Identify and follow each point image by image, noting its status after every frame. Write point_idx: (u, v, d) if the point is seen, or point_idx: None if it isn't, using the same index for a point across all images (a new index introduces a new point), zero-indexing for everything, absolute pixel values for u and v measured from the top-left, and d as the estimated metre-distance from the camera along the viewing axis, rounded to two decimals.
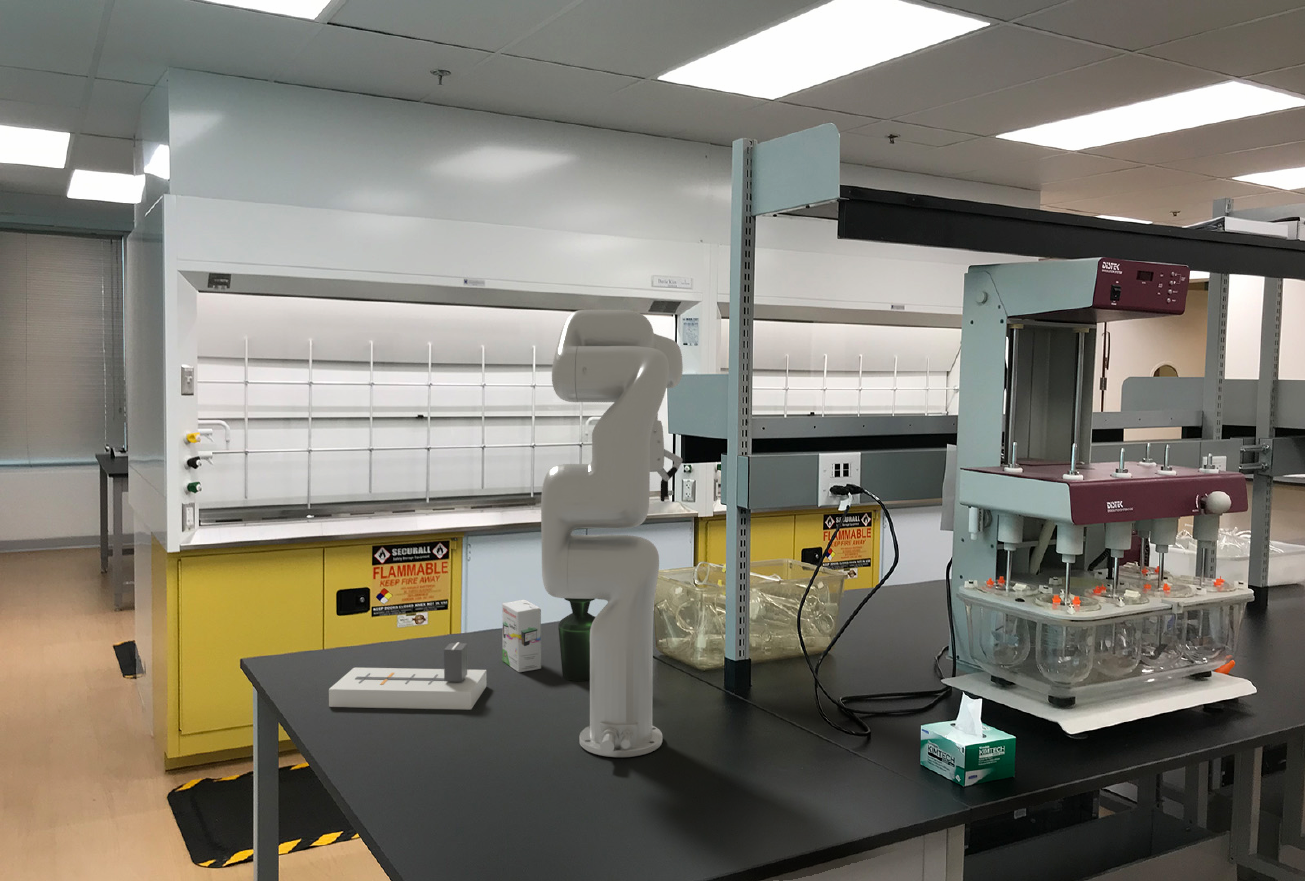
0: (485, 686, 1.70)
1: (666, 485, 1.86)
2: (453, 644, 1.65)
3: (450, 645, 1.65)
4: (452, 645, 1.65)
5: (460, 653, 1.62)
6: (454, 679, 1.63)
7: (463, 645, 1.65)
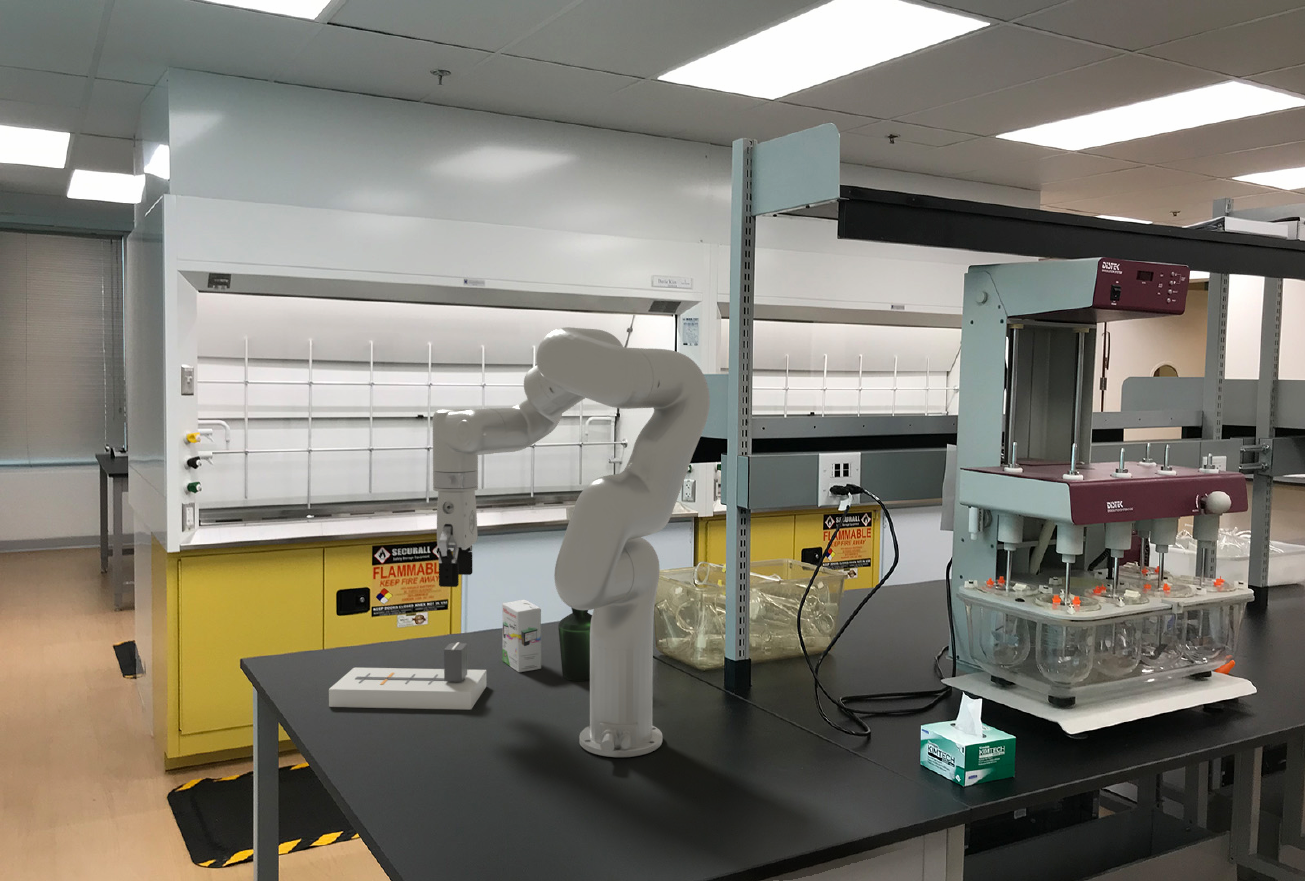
0: (485, 686, 1.70)
1: None
2: (453, 644, 1.65)
3: (450, 645, 1.65)
4: (452, 645, 1.65)
5: (460, 653, 1.62)
6: (454, 679, 1.63)
7: (463, 645, 1.65)
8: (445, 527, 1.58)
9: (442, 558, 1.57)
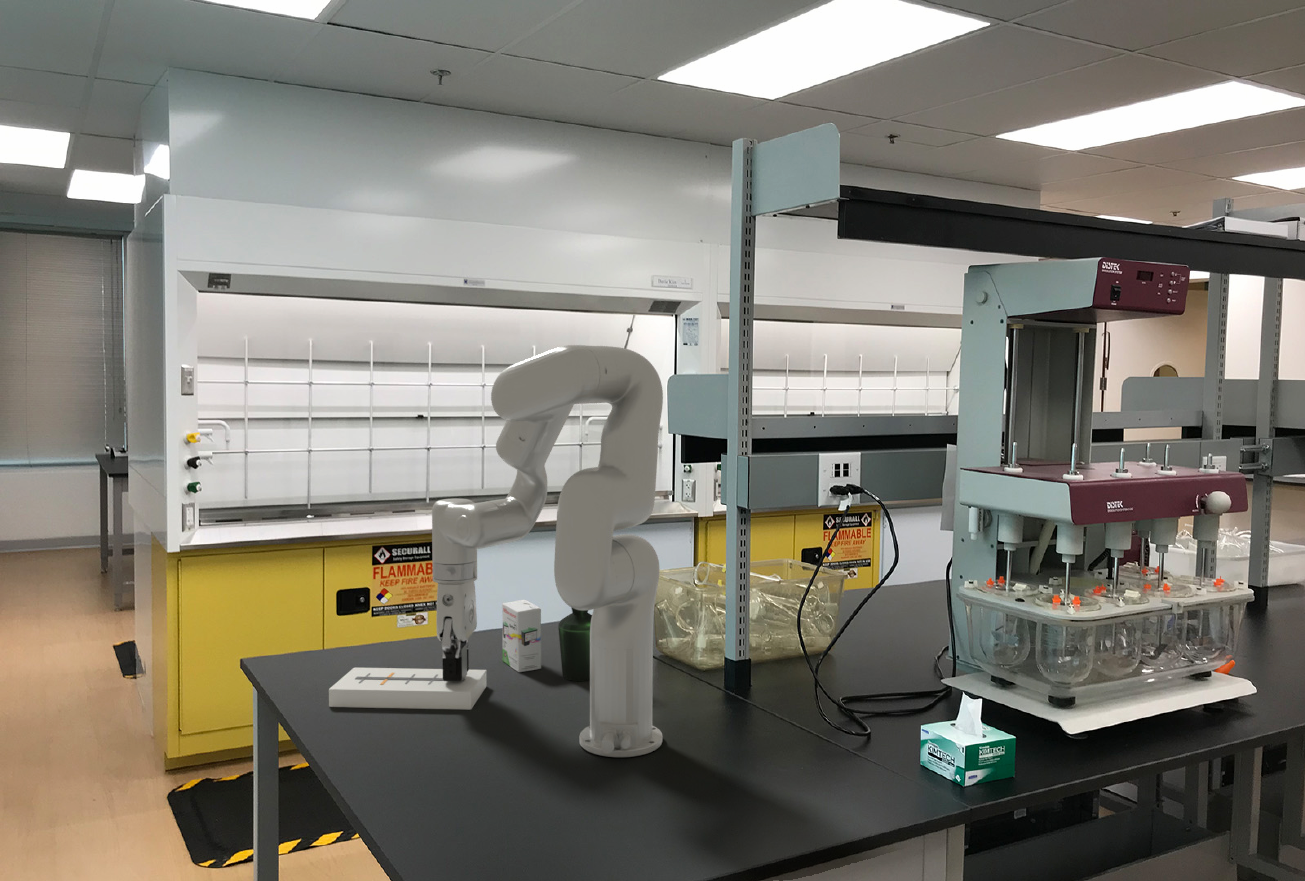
0: (485, 686, 1.70)
1: None
2: (453, 644, 1.65)
3: None
4: None
5: (460, 653, 1.62)
6: None
7: (463, 645, 1.65)
8: (445, 624, 1.59)
9: (446, 654, 1.60)
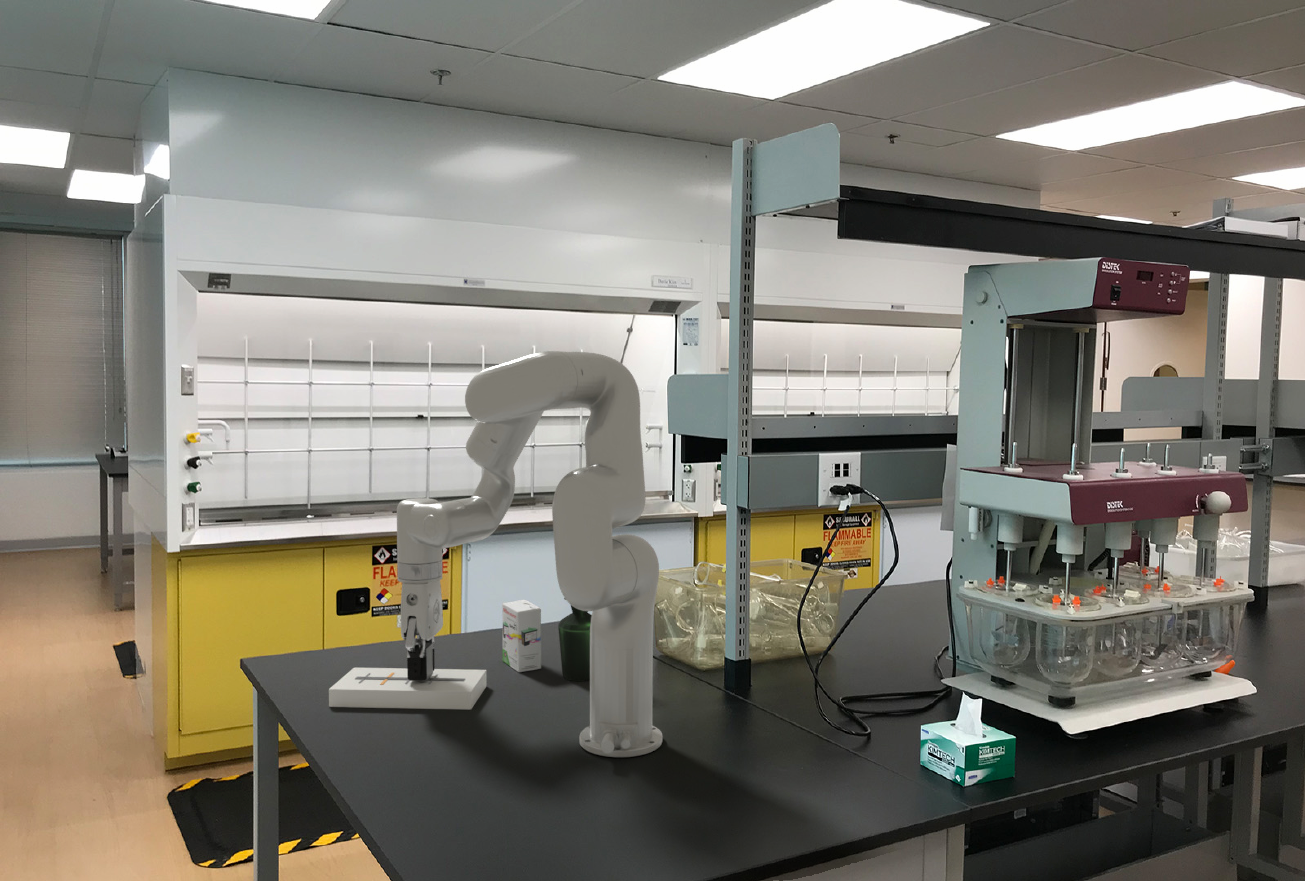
0: (485, 686, 1.70)
1: None
2: (419, 643, 1.66)
3: None
4: (417, 644, 1.65)
5: (425, 653, 1.62)
6: None
7: (428, 644, 1.65)
8: (409, 624, 1.59)
9: (410, 653, 1.60)
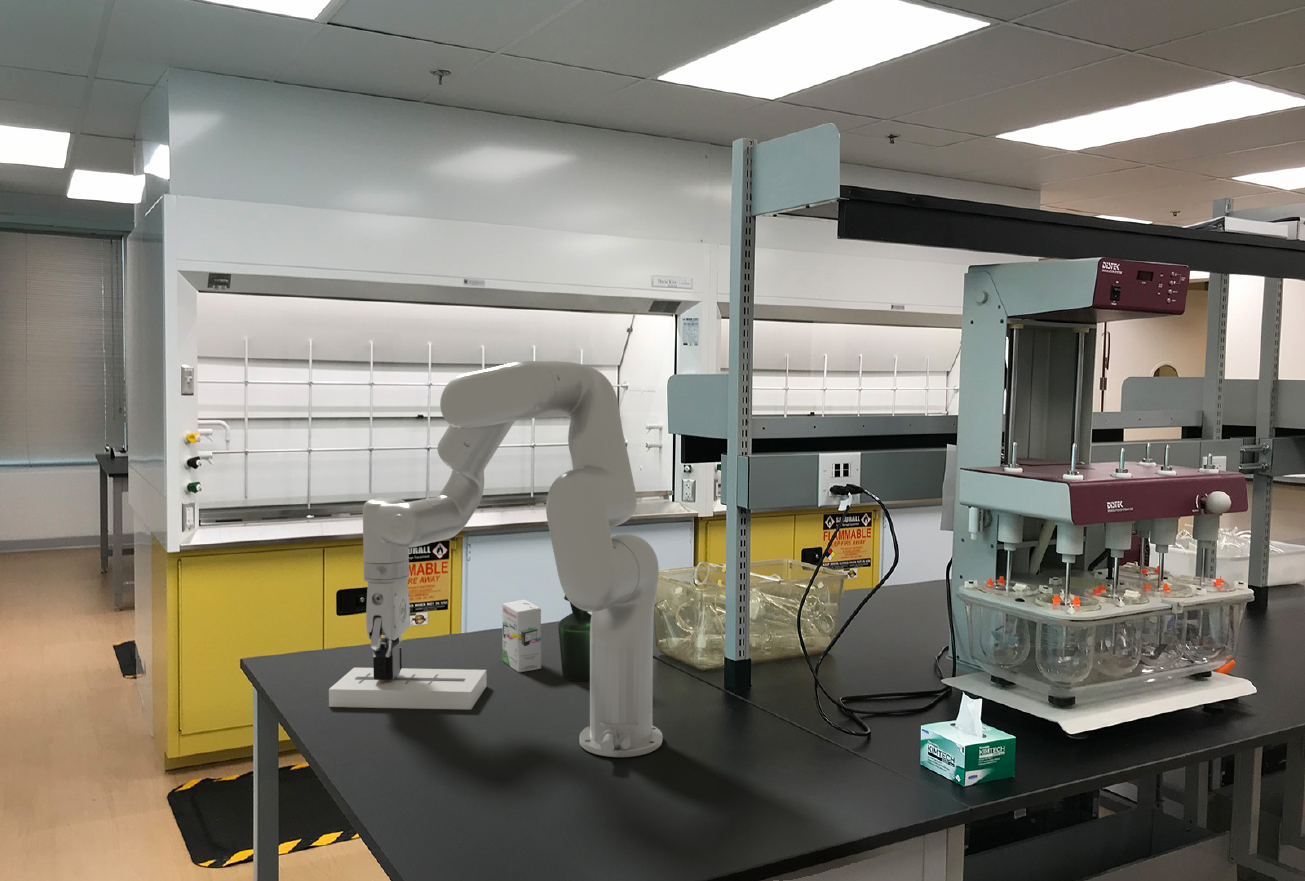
0: (485, 686, 1.70)
1: None
2: (385, 643, 1.66)
3: None
4: (384, 644, 1.65)
5: (391, 652, 1.63)
6: None
7: (395, 644, 1.65)
8: (375, 623, 1.59)
9: (376, 653, 1.60)
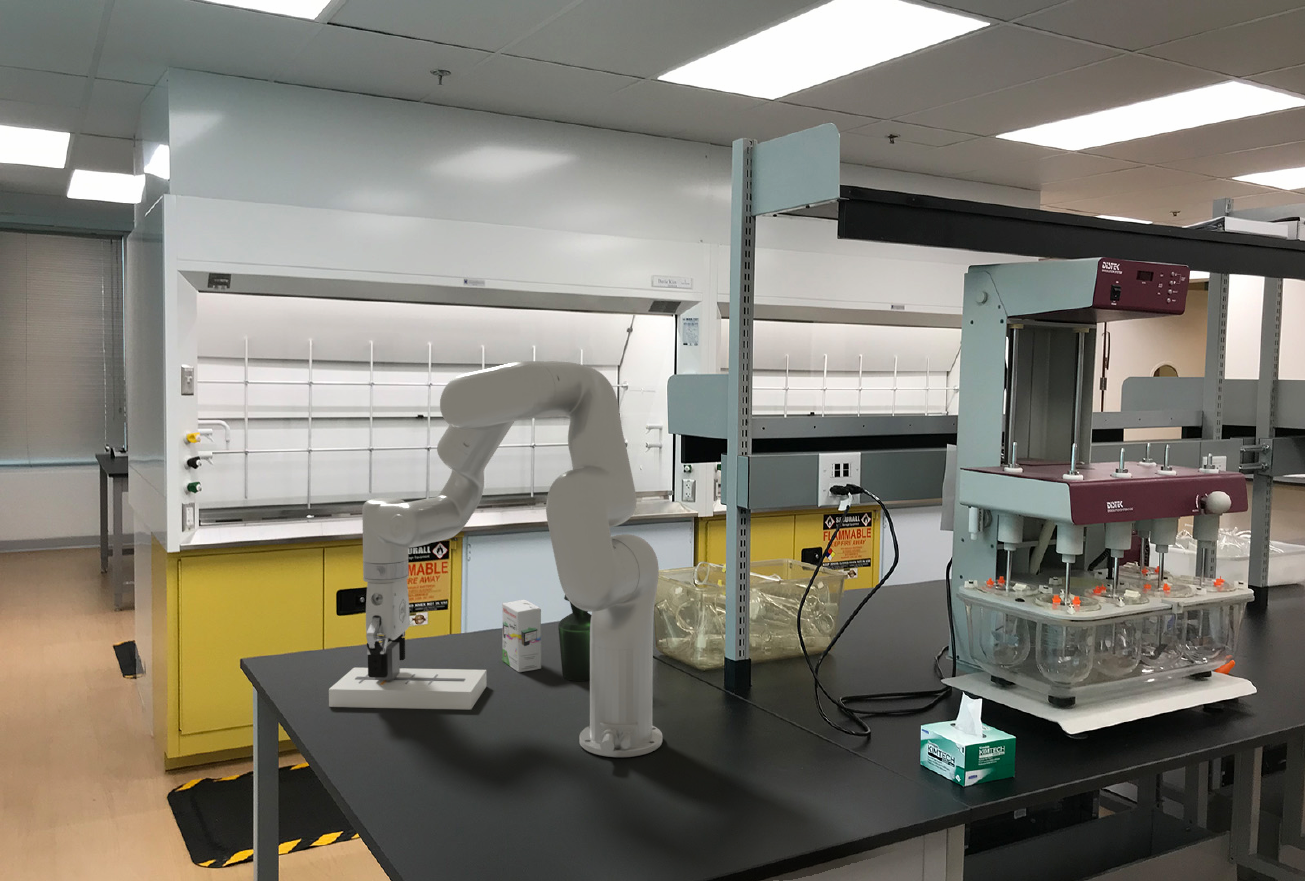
0: (485, 686, 1.70)
1: None
2: None
3: None
4: None
5: (390, 652, 1.63)
6: (385, 678, 1.63)
7: (395, 644, 1.65)
8: (374, 619, 1.59)
9: (370, 650, 1.58)
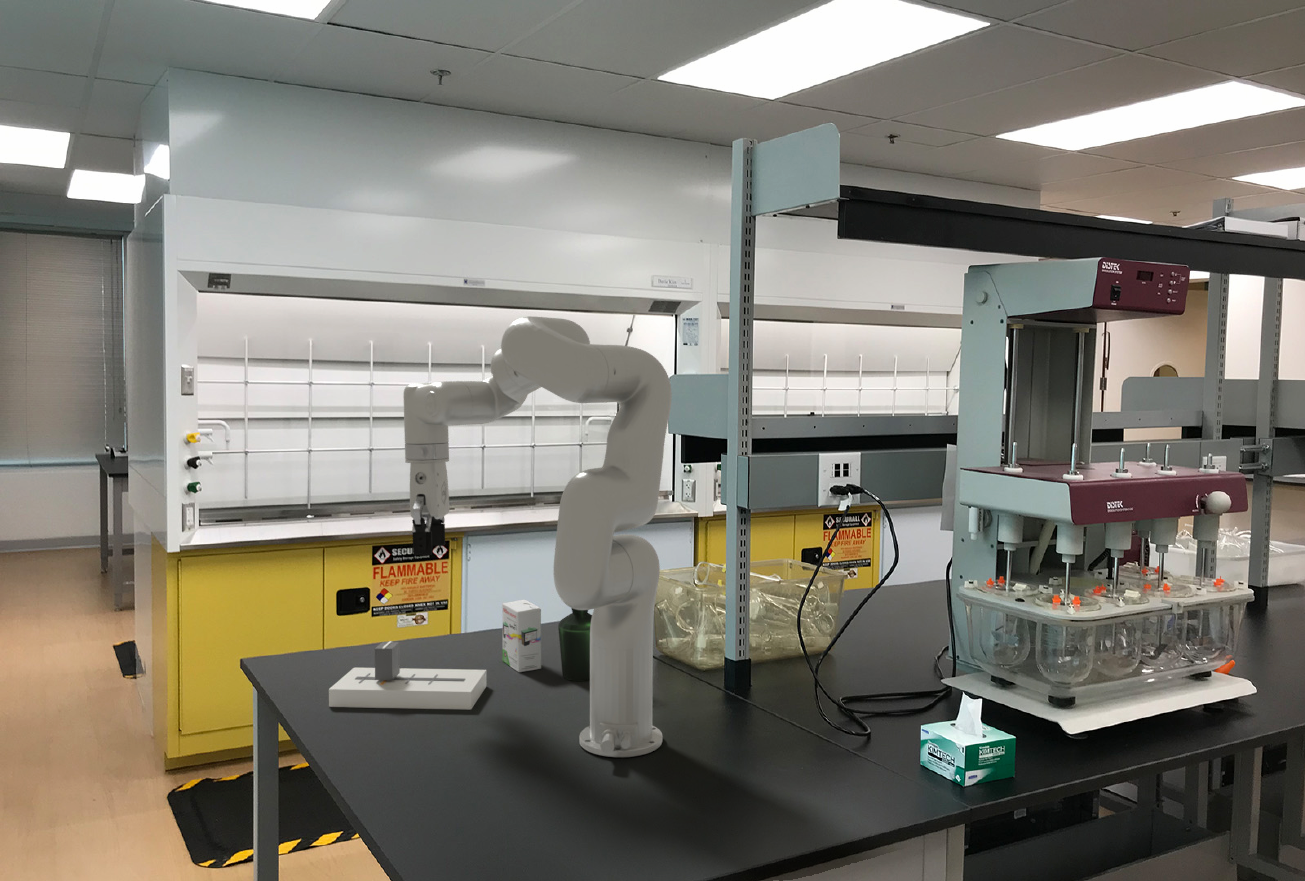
0: (485, 686, 1.70)
1: None
2: (385, 643, 1.66)
3: (382, 644, 1.65)
4: (384, 644, 1.65)
5: (390, 652, 1.63)
6: (385, 678, 1.63)
7: (395, 644, 1.65)
8: (418, 497, 1.63)
9: (416, 527, 1.61)
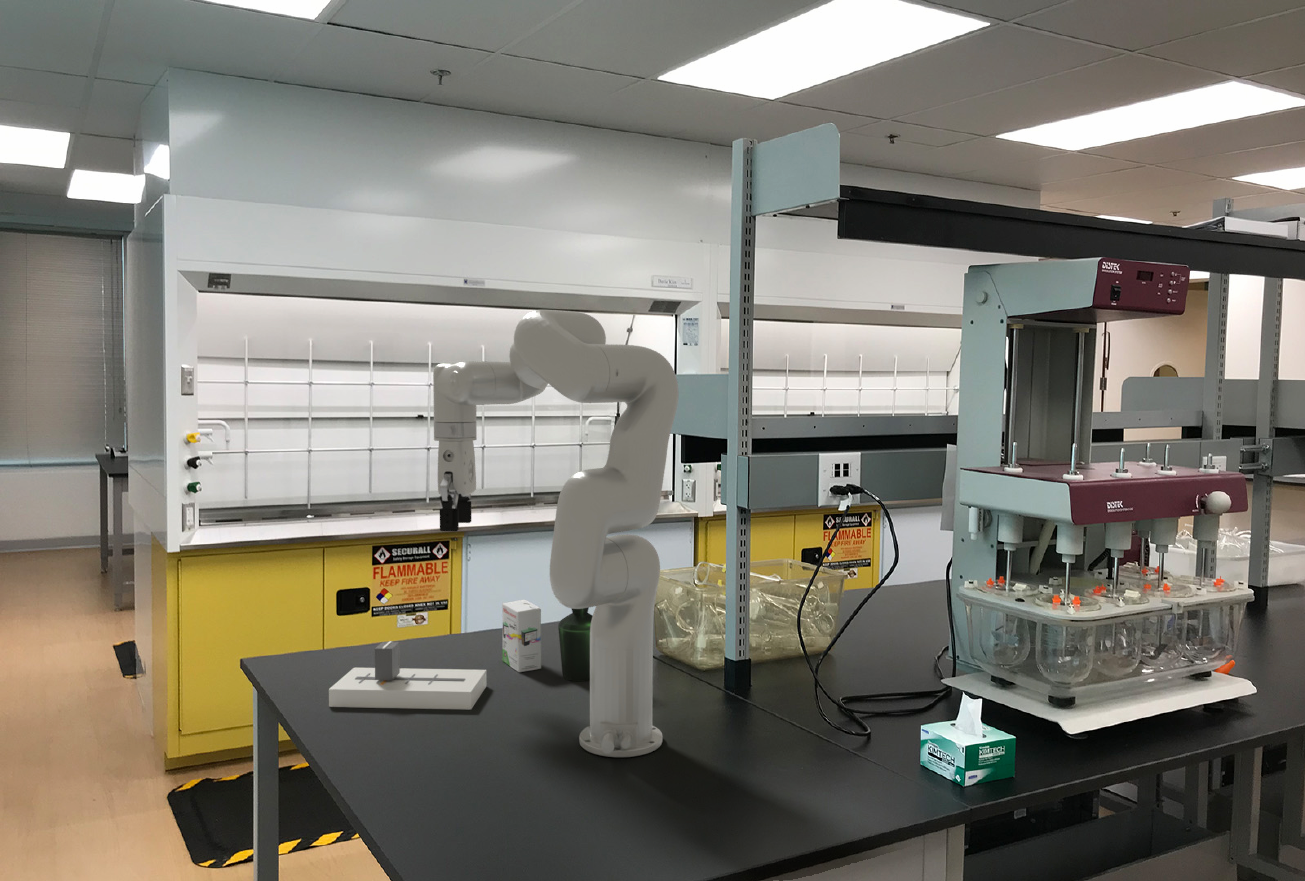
0: (485, 686, 1.70)
1: None
2: (385, 643, 1.66)
3: (382, 644, 1.65)
4: (384, 644, 1.65)
5: (390, 652, 1.63)
6: (385, 678, 1.63)
7: (395, 644, 1.65)
8: (445, 474, 1.66)
9: (443, 503, 1.65)
